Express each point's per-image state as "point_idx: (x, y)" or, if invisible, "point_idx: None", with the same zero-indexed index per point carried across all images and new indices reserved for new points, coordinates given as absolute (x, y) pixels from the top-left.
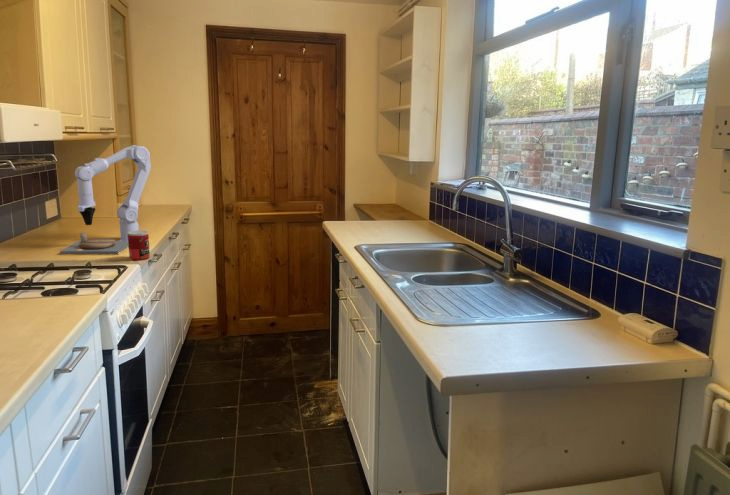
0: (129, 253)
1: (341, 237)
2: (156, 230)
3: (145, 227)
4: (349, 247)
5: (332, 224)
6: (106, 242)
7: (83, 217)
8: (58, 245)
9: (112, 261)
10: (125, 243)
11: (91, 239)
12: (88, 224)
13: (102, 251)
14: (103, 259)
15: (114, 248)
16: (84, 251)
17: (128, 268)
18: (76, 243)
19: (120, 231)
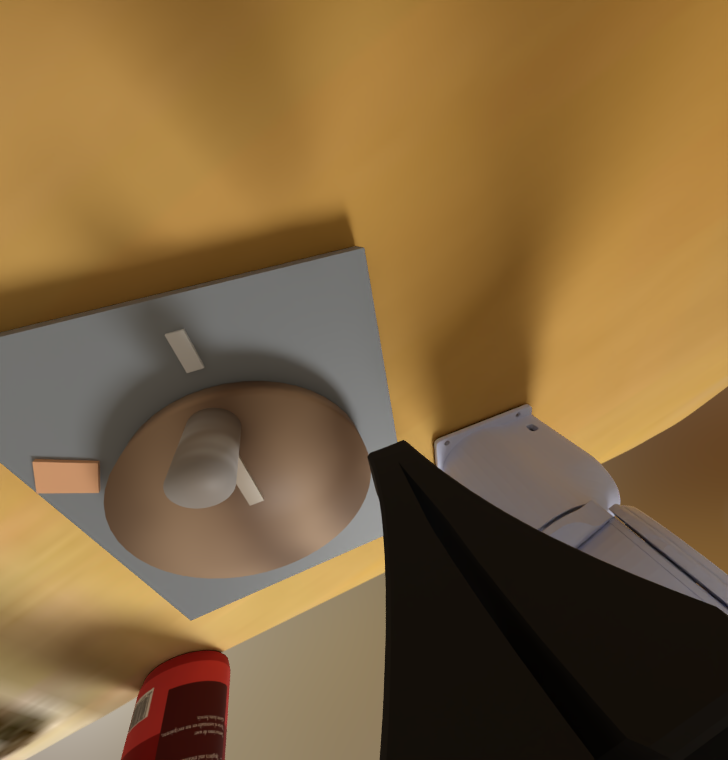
0: (140, 708)
1: None
2: (633, 427)
3: (703, 353)
4: None
5: None
6: (263, 548)
7: (386, 567)
8: (243, 42)
9: (65, 664)
10: (355, 538)
11: (309, 423)
12: (375, 484)
13: (146, 581)
14: (67, 623)
15: None
16: (70, 517)
17: (14, 754)
18: (262, 298)
19: (492, 475)
